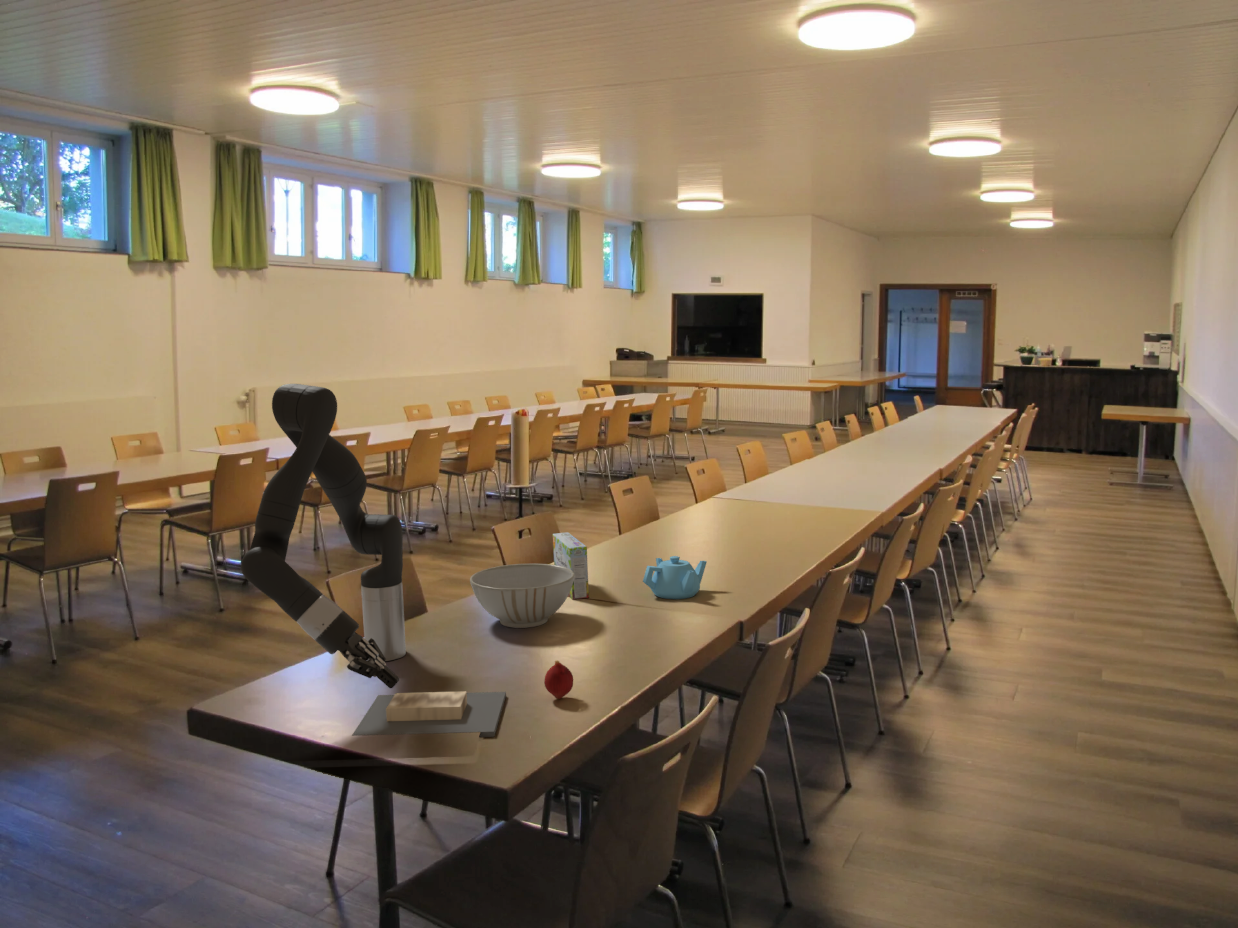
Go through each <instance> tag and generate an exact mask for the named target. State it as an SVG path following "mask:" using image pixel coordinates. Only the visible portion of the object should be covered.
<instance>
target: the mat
mask: <svg viewBox="0 0 1238 928" xmlns="http://www.w3.org/2000/svg"><path fill="white" fill-rule="evenodd" d="M394 695H395V694H378V695H377V696H376V697H375V698H374V700H373V702H372V703H371V705H370V707H369V709H368V710H367V712H366V713H365V714H364V716H363V718H362V719H361V720H360V722H359V723H358V725H357V727H356V728H355V730H354V731H353V732H352V735H351V736H382V735H383V736H384V735H385V736H389V735H416V734H417V735H423V734H427V735H428V734H430V735H431V734H457V733H459V734H460V733H462V734H463V733H466V734H467V733H479V736H478V737H479V738H490V737H491V738H494V737H495V735H496V734H497V733H496V732H497V729H498V726H499V725H498V724H499V721H500V718H501V716H502V715H501V714H502V712H503V708H504V704H505V701H506V698H507V692H506V691H485V692H484V691H481V692H478V691H477V692H467V705H466V708H465V710H464V713H463V715H462V718H461V719H456V720H419V721H387V715H386V708H387V706H388V705H389V703H390V701H391V700H392V698H393V697H394Z"/></svg>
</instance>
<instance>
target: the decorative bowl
mask: <svg viewBox="0 0 1238 928" xmlns="http://www.w3.org/2000/svg"><path fill="white" fill-rule="evenodd" d="M574 576H575V574H574V572H573V571H572V570H570V569H568V568H566V567H562V566H557V565H554V564H548V563H514V564H513V563H512V564H506V565H498V566H495V567H494V566H493V567H489V568H486V569H482V570H480V571H477V572H475V573H474V574H472V575H471V576H470V578H469V583H470V586H471V588H472V592H473V594H474V596H475V598H476V599H477V601H478V602H479V604H480V605H481V606H482V608H483V610H484V611H486V612H488V614H490V615H491V616H493V617H494V618H495V619H498V620H499V623H500V625H503V626H505V627H507V628H516V629H518V628H519V629H524V628H525V629H526V628H527V629H528V628H533V627H539V626H542V625H544V624H546V623H547V622H548V620H549V618H550V617H551V616H553V615H554V614H555V613H556V612H557V611H558V610H559V609H560V608H562V606H563V605H564V603H565V602H566V600H567V598H568V597H569V596H568V595H569V593H570V590H571V588H572V585H573V581H574Z"/></svg>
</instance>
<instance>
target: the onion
mask: <svg viewBox="0 0 1238 928" xmlns="http://www.w3.org/2000/svg"><path fill="white" fill-rule="evenodd" d="M543 681H544V687H545V689H546V691H548V693H549V694H551V695H552V696H553V697H554V698H555V699H557V700H561V699H562V698H564V697H565V696H567V695H568V694H569V693H570V692H571V691H572V689H573V686H574V675H573V673H572V672H571V670H570V669H569V668H568V667H567V666H566V665H564V664H562V663H561V662H560V660H558V659H555V661H554V665H552V666H551V667H550V668H549V669H548V670H547V671H546V673H545V676H544V680H543Z"/></svg>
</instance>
